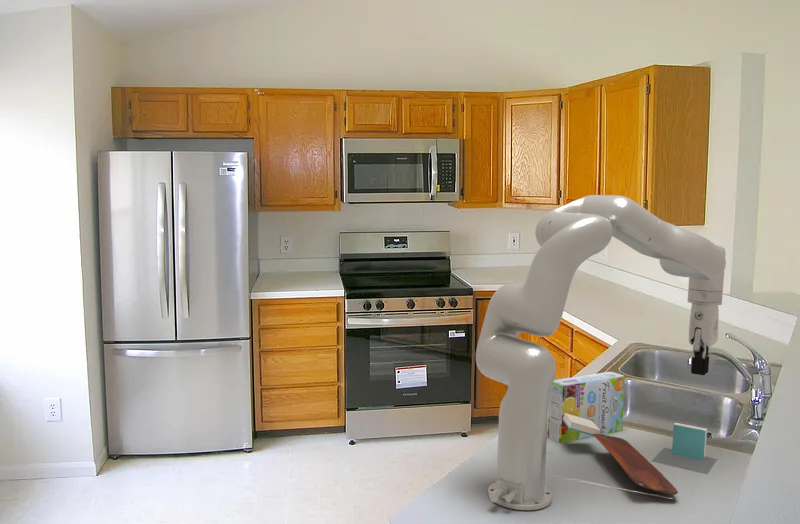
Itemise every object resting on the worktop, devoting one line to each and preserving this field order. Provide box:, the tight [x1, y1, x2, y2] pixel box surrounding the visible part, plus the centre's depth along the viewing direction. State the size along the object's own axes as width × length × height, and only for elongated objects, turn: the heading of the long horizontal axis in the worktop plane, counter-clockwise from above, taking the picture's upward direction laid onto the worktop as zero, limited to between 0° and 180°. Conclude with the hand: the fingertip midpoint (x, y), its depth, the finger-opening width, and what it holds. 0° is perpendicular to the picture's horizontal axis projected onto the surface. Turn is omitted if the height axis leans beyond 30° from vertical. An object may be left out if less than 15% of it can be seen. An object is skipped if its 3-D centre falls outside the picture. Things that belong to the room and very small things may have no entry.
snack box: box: [547, 371, 626, 444], centre depth 180 cm, size 21×6×15 cm, turn 120°
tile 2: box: [671, 422, 708, 460], centre depth 166 cm, size 2×7×7 cm, turn 55°
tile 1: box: [562, 413, 600, 436], centre depth 169 cm, size 7×7×2 cm
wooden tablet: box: [593, 434, 679, 495], centre depth 154 cm, size 27×10×2 cm, turn 4°
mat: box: [651, 447, 718, 475], centre depth 164 cm, size 11×12×1 cm
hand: (699, 372), depth 170 cm, fingers closed
